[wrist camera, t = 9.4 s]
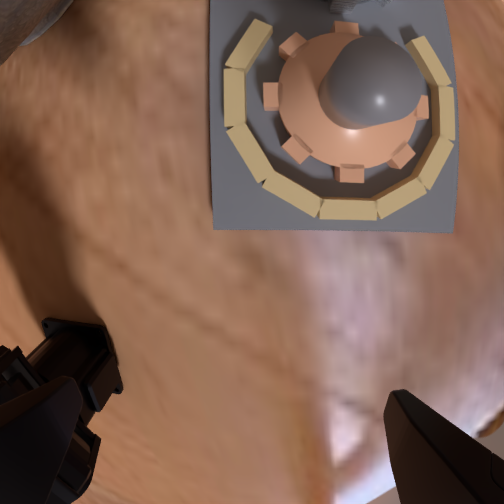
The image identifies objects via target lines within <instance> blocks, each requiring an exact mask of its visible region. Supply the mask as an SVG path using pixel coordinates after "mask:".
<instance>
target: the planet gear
mask: <svg viewBox="0 0 504 504" xmlns="http://www.w3.org/2000/svg"><path fill="white" fill-rule="evenodd" d="M279 56H280V57H281V58H283V59H284V60H285V61H286V63H285V64H284V66H283V68H282V71H281V74H280V77H279V82H278V83H263V98H264V110H265V111H279V114H280V118H281V120H282V123H283V125H284V127H285V129H286V131H287V133H288V134H289V136H290V137H291V138H290V139H289V140H288V141H287V142H286V143H285V144H283V145H282V146H281V148H282V149H283V150H284V151H285V152H287V153H288V154H289V155H290V156H291V157H292V158H293V159H294V160H295V161H296V162H297V163H298V164H301V163H302V162H303V161H304V160H305V159H306V158H307V157H308V156H309V155H310V156H311V157H313V158H315V159H316V160H318V161H320V162H323V163H326V164H328V165H332V166H335V169H334V180H336V181H339V182H348V183H364V169H365V168H371V167H374V166H378V165H380V164H382V163H385V162H386V163H387V164H388V165H389V167H390V168H395V169H401V168H402V167H403V166H404V165H405V164H406V163H407V162H408V161H409V160H410V159H411V158H412V157H413V156H414V155H415V154H416V153H415V152H414V151H413V150H412V148H411V147H410V146H409V145H408V143H407V142H408V141H409V139H410V137H411V135H412V133H413V131H414V128H415V124H416V121H418V120H423V119H429V107H428V96H425V95H421V94H422V80H421V75H420V72H419V69H418V67H417V65H416V63H415V62H414V60H413V59H412V57H411V56H410V55H409V54H408V53H407V52H406V51H405V50H404V49H403V48H402V47H401V46H399V45H398V44H397V43H396V42H393V41H391V40H388V39H385V38H382V37H377V36H365V37H364V36H361V35H359V28H358V23H352V22H342V21H334V23H333V25H332V27H331V29H330V33H328V34H323V35H319V36H317V37H314V38H312V39H310V40H308V41H307V40H306V39H304V38H303V37H302V36H301V35H300V34H298V33H297V32H295V33H294V34H293V35H292V36H291V37H289V38H288V39H287V40H286V41H285V42H284V43H282V44H281V45H280V46H279Z"/></svg>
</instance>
